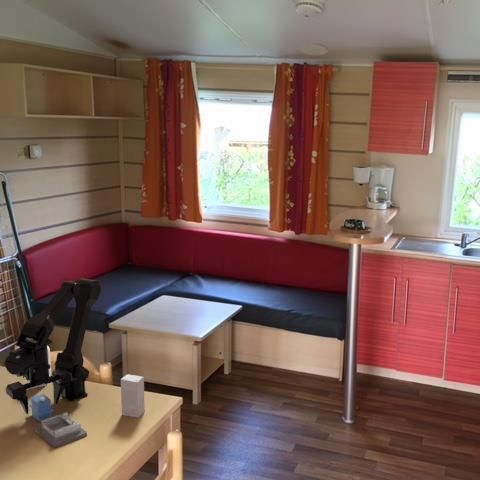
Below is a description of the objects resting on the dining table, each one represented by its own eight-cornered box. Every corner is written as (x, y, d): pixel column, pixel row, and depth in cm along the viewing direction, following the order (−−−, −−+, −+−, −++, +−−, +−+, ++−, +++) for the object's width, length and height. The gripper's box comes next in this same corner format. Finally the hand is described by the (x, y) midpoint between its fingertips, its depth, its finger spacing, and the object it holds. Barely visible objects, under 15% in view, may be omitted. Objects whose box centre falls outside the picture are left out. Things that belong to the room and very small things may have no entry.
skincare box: (145, 412, 186) (144, 376, 184) (138, 418, 182) (137, 382, 180) (128, 408, 188) (127, 373, 185) (121, 415, 184) (120, 379, 182)
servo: (42, 409, 187) (41, 390, 185) (53, 419, 181) (52, 399, 180) (30, 413, 184) (28, 394, 183) (41, 423, 179) (40, 403, 177)
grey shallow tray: (67, 419, 181) (67, 409, 180) (87, 435, 172) (86, 424, 172) (36, 431, 174) (35, 420, 174) (54, 448, 166) (53, 436, 165)
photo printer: (46, 387, 202) (44, 353, 199) (33, 387, 201) (30, 353, 199) (52, 374, 212) (50, 341, 209) (40, 374, 211) (38, 341, 209)
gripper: (55, 345, 191) (58, 390, 194) (-4, 361, 178) (0, 409, 182) (71, 356, 183) (74, 402, 186) (11, 373, 170) (15, 423, 174)
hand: (41, 408), depth 182 cm, fingers open, 9 cm apart
